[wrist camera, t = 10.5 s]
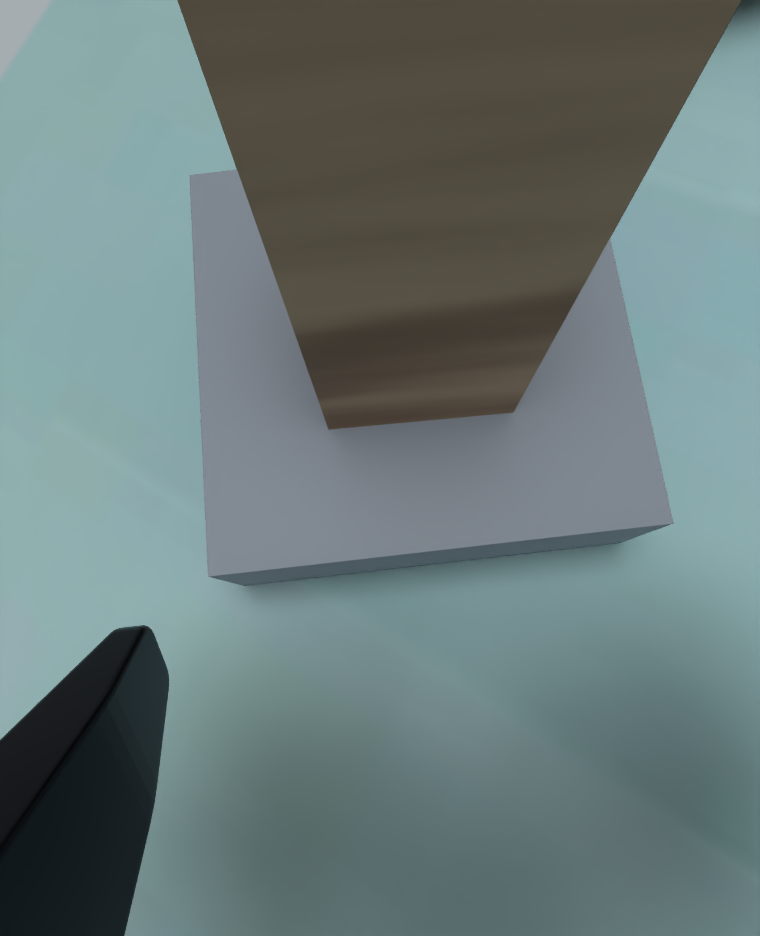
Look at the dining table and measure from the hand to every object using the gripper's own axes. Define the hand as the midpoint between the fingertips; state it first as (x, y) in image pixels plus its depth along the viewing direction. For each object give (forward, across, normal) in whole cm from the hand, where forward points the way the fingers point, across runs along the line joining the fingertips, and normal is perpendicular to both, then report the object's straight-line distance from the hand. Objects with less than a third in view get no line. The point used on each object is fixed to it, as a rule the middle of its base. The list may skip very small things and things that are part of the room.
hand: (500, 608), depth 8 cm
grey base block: (+14, 0, +3) cm, 14 cm away
